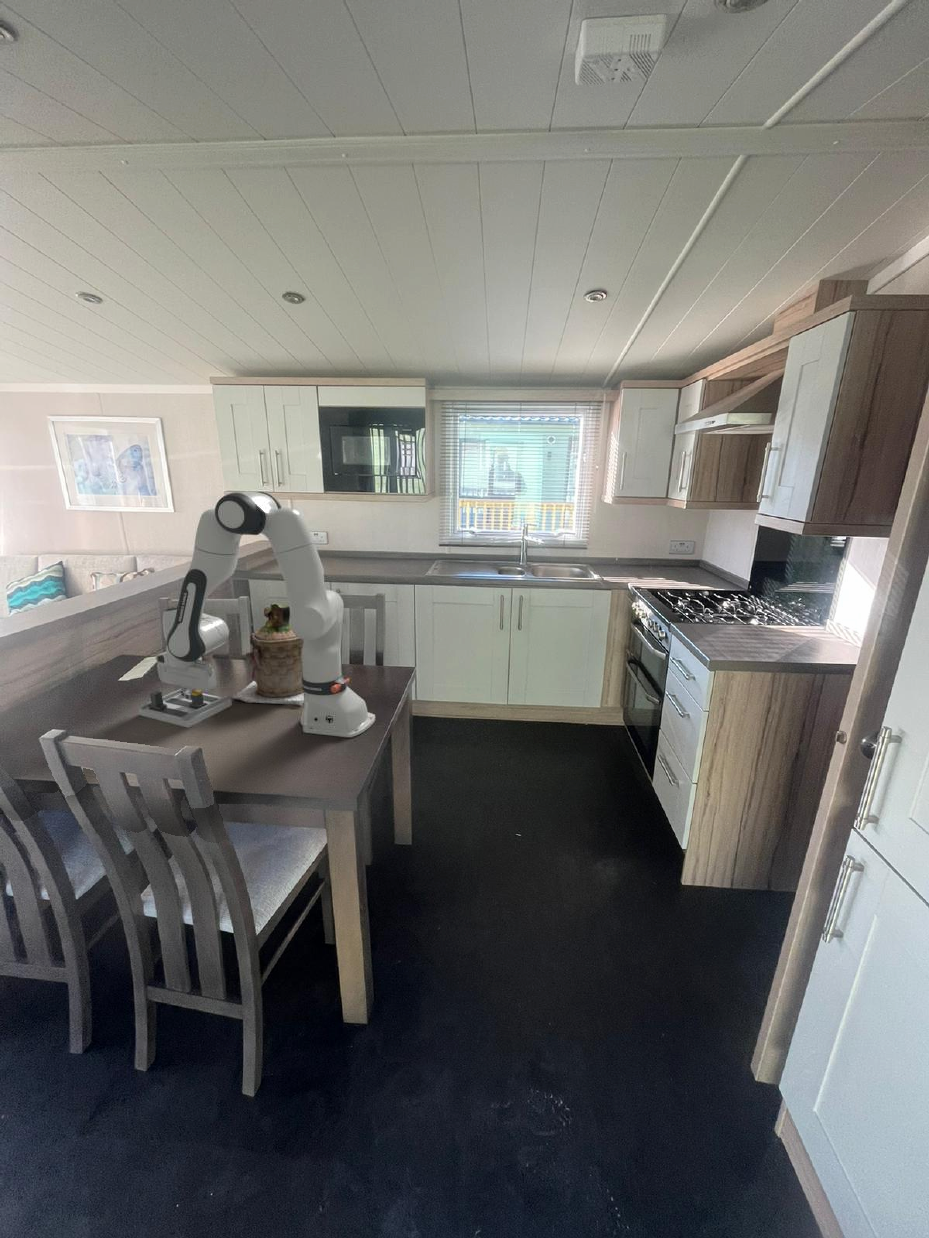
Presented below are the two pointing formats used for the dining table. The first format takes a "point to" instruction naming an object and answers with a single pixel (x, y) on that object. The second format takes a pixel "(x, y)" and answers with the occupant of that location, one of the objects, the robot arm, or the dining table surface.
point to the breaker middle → (197, 699)
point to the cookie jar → (275, 661)
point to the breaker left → (157, 701)
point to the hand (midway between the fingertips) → (190, 699)
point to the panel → (185, 709)
